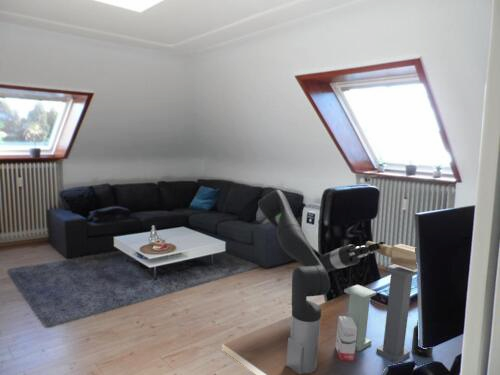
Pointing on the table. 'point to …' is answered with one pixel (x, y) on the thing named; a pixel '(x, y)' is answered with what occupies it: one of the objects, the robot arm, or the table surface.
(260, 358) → the table surface
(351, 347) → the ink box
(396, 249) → the wooden leg
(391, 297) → the tall stand
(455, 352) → the table surface
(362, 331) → the low stand
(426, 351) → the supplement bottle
